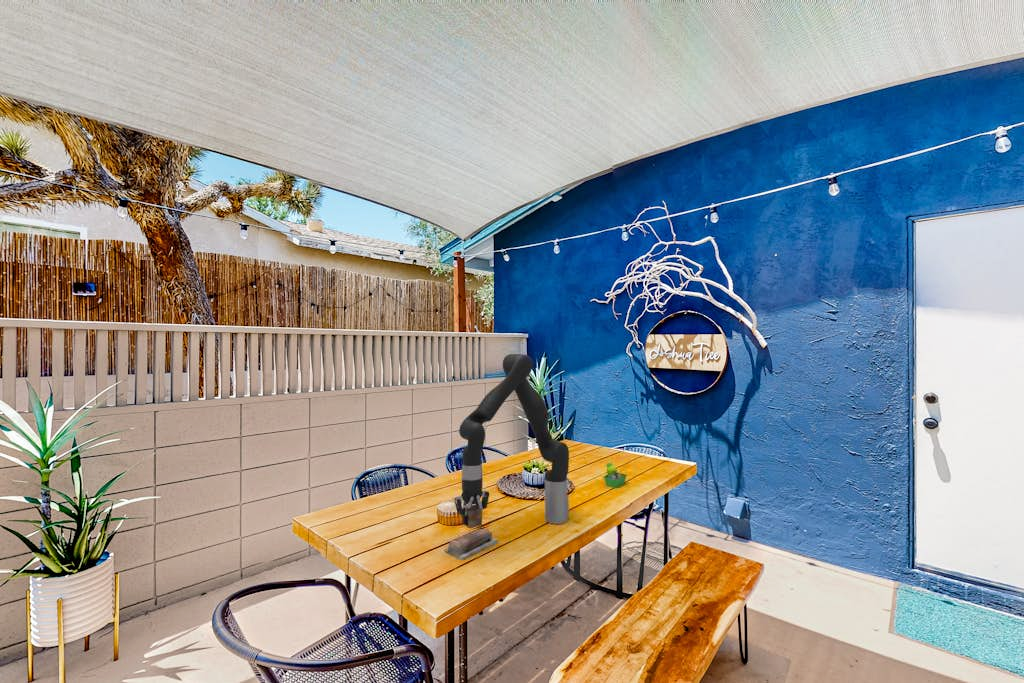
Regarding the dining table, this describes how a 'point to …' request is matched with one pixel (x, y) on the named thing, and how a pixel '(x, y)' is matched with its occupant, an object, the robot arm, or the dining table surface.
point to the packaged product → (471, 544)
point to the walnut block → (474, 516)
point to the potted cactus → (614, 476)
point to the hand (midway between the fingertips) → (472, 522)
